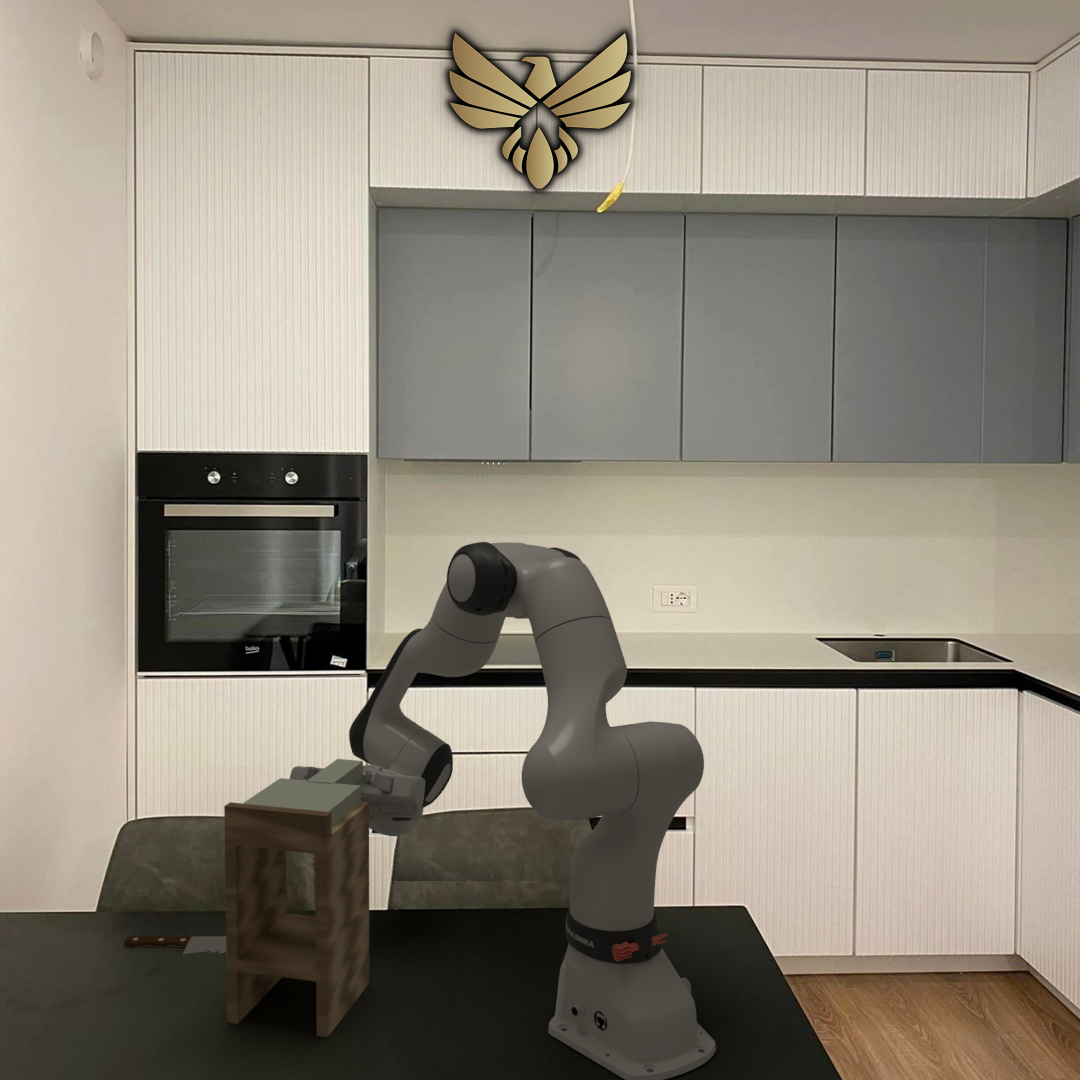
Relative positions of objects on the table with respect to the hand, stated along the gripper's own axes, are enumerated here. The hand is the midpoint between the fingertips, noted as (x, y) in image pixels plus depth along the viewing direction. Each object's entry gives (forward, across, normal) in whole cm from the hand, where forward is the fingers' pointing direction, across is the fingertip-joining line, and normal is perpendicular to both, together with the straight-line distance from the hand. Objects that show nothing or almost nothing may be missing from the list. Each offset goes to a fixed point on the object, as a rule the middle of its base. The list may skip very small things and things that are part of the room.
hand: (339, 774), depth 154 cm
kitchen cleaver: (-12, -20, +26) cm, 35 cm away
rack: (-3, 0, +30) cm, 30 cm away
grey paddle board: (+5, 0, +5) cm, 7 cm away
